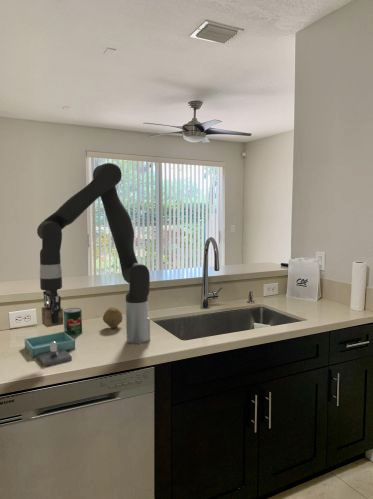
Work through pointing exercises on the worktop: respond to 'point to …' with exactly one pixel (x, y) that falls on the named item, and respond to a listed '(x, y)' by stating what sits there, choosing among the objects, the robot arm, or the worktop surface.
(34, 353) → the teal tray
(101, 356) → the worktop surface
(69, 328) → the canned tomato
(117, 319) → the natural sponge
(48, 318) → the hollow wooden cube
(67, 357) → the gauge pin stand
